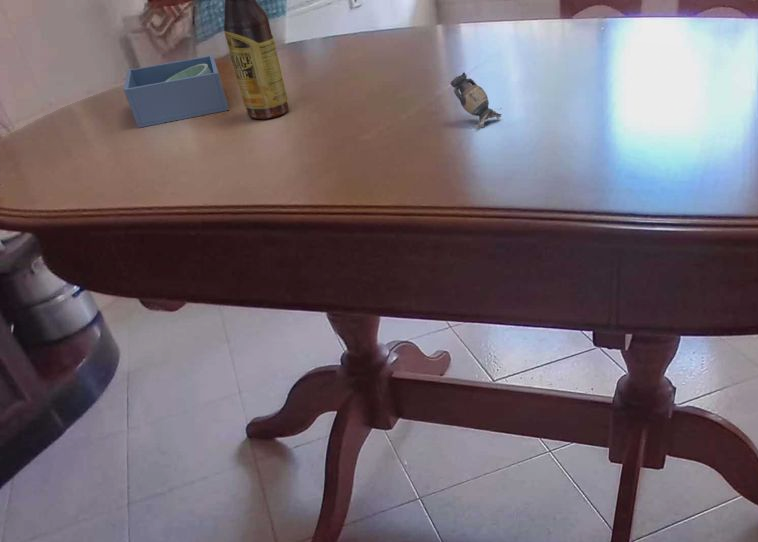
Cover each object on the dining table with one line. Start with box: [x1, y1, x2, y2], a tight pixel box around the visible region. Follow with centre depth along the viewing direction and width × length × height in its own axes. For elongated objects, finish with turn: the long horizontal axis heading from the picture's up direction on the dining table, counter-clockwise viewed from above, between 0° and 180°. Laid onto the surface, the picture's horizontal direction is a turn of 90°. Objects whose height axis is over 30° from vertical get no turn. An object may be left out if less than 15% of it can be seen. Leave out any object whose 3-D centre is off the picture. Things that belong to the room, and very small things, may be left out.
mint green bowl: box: [164, 64, 212, 82], centre depth 108 cm, size 9×9×3 cm
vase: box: [450, 72, 503, 132], centre depth 90 cm, size 5×5×6 cm
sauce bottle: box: [223, 0, 290, 120], centre depth 97 cm, size 6×6×20 cm
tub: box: [123, 54, 230, 129], centre depth 108 cm, size 13×13×6 cm
